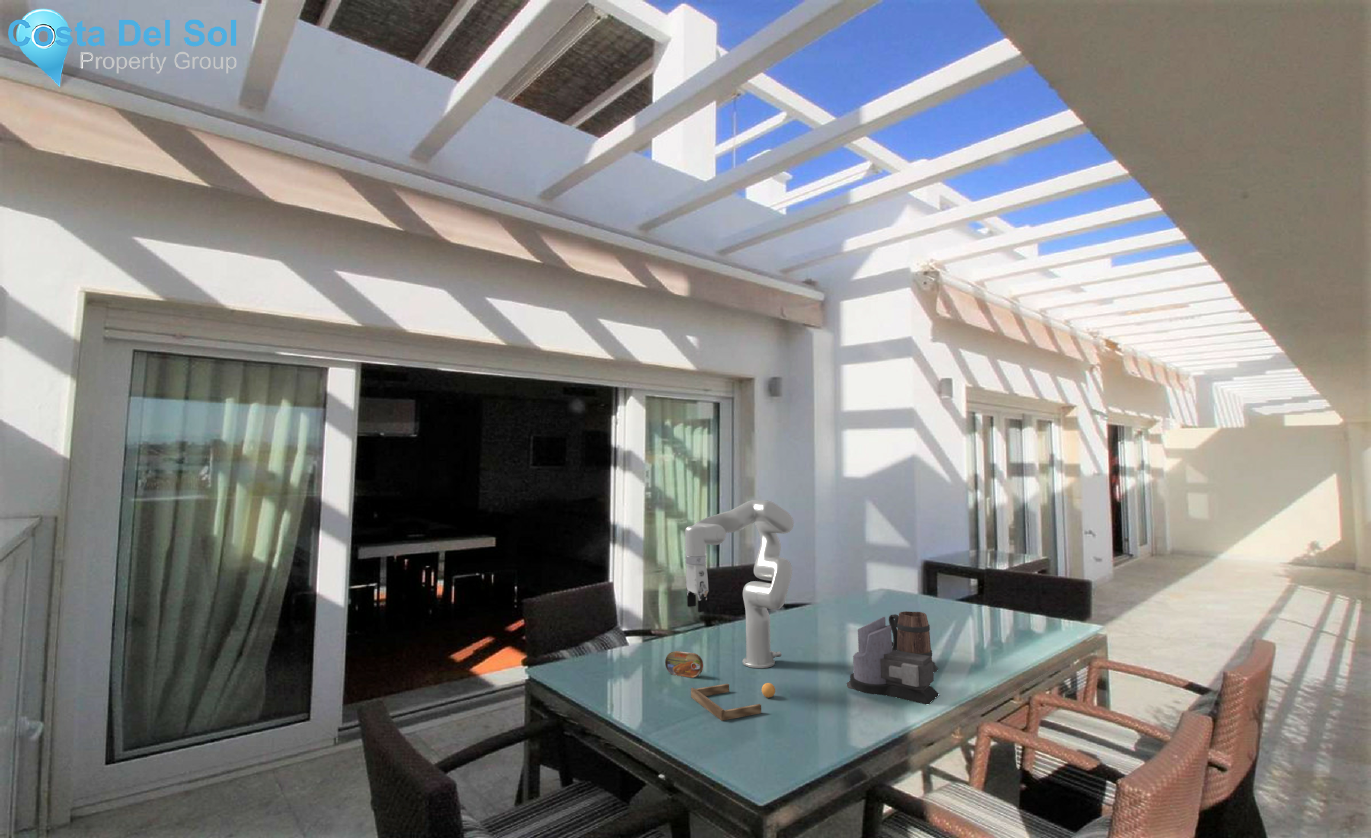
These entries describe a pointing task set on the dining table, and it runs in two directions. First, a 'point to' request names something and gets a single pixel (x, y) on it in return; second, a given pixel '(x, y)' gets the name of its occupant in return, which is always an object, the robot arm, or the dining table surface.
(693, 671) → the tin
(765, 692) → the ball
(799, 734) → the dining table surface
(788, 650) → the dining table surface
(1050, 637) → the dining table surface
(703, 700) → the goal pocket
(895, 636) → the tankard
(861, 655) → the juicer
